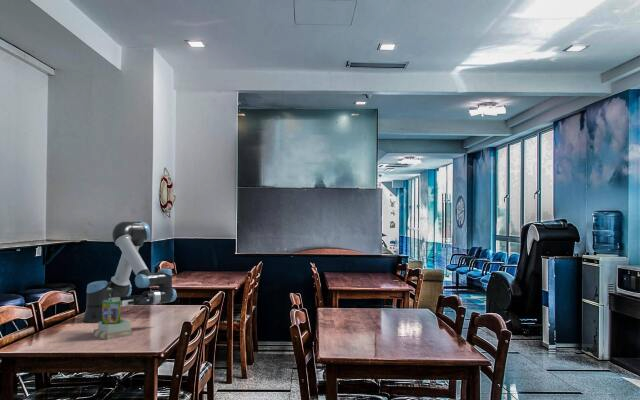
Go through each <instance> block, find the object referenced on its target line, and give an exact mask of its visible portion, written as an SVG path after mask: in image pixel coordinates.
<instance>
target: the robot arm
mask: <svg viewBox="0 0 640 400" xmlns="http://www.w3.org/2000/svg"><path fill="white" fill-rule="evenodd" d="M111 236H112V237H111V238H112V241H113V243H114V244H115V246H116V247H119V249H120V251H121V256H120V259H119V262H118V265H117V268H116V271H115V273H114V276H111V279H110V281H109V282H108V281H107V280H97V281H92V282H90V283H89V282H88V284H87V285H86V286H87V287H86V292H85V293H86V305H85V307H86V309H85V312H84V314H83V317H82V322H84V323H88V324H89V323H91V324H92V323H99V322H101V321H102V302H103V300H111V299H112V300H118V299H120V300H121V307H126V306H135V305H137V306H139V305H143V306H150V305H154V306H156V305H159V304H165V303H167V304H168V303H171V302H175V301H176V299H177V298H178V295H177V290H176V289H175V288H173V270H172V269H171V268H159V269H158V272H152V273H151V272H150V270H149V268H148V267H147V265H146V263H145V261H144V260H143V258H142V256H141V254H140V253H139V249H140V247H142V246H144V242H147V241H148V240H150V237H151V229H150V225H149V224H148V223H147V222H145V221H121V222H118V223H117V224H116V225H115V226H114V227H113V230H112V233H111ZM132 272H133V273H134V275H135V278H134V283H135V286H136V287H137V288H139V289H141V288H142V289H146V288H152V287H153V288H154V287H158V289H157V290H150V291H149V290H148V291H147V290H146V291H143V292H142V293H141V295H140V294H138V295H137V294H136V295H131V294H132V290H133V289H132V287H133V286H132V284H131V281H130V276H131V273H132ZM109 295H111V299H110V296H109Z"/></svg>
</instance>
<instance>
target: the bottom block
mask: <svg viewBox="0 0 640 400" xmlns="http://www.w3.org/2000/svg"><path fill="white" fill-rule="evenodd" d="M93 336H94V337H97V338H100V339H104V340H113V339H118V338H119V339H120V338H124V337H125V338H126V337H129V336H133V328H130V330H124V331H117V332H110V333H107V332H104V331H101V330H99V329H93Z"/></svg>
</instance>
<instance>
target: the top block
mask: <svg viewBox="0 0 640 400" xmlns="http://www.w3.org/2000/svg"><path fill="white" fill-rule="evenodd" d="M97 323H98V325H97V327H98V329H99V330H101V331H104V332H107V333H110V332H117V331H124V330H130V329H131V321H128V320H126V319H122V318H120V323H111V324H102V321H101V322H97Z"/></svg>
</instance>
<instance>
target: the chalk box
mask: <svg viewBox="0 0 640 400" xmlns="http://www.w3.org/2000/svg"><path fill="white" fill-rule="evenodd" d="M109 296H110V299H111V295H109ZM121 307H122V302H121V300H120V299H118V300H112V299H111V300H103V302H102V324H111V323H120V319H121Z"/></svg>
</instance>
